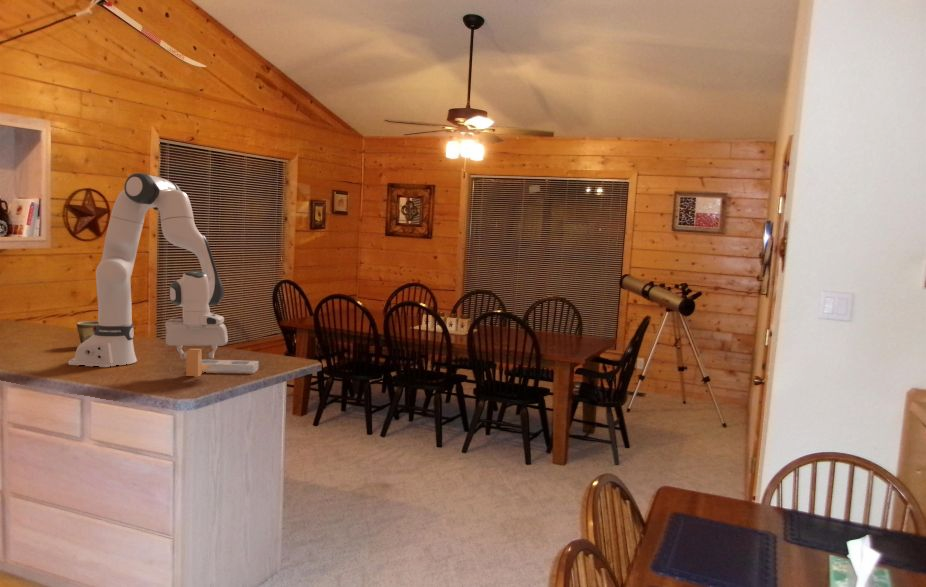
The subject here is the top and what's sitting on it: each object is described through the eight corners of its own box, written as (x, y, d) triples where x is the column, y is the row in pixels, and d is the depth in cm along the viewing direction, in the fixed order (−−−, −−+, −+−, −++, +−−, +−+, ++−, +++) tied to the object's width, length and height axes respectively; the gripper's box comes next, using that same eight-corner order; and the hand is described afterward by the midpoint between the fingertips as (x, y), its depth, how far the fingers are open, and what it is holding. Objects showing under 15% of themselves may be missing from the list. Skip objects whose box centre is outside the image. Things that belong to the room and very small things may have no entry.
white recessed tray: (189, 372, 252) (189, 363, 252) (197, 367, 260) (197, 359, 260) (253, 373, 253) (253, 365, 253) (258, 369, 261) (258, 360, 261)
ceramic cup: (100, 349, 286) (99, 324, 285) (73, 349, 285) (72, 324, 284) (110, 343, 299) (110, 320, 298) (85, 343, 298) (84, 319, 297)
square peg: (186, 376, 245) (186, 350, 244) (189, 374, 249) (189, 348, 248) (198, 376, 245) (197, 351, 245) (201, 374, 249) (201, 348, 248)
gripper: (162, 319, 242) (163, 359, 244) (224, 319, 244) (224, 359, 245) (168, 317, 248) (169, 356, 250) (228, 317, 250) (229, 356, 251)
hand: (197, 358), depth 248 cm, fingers open, 8 cm apart
